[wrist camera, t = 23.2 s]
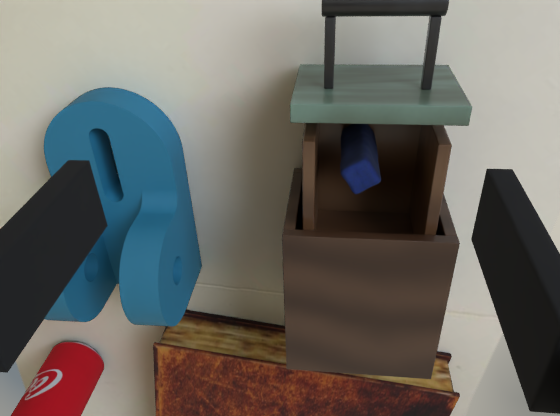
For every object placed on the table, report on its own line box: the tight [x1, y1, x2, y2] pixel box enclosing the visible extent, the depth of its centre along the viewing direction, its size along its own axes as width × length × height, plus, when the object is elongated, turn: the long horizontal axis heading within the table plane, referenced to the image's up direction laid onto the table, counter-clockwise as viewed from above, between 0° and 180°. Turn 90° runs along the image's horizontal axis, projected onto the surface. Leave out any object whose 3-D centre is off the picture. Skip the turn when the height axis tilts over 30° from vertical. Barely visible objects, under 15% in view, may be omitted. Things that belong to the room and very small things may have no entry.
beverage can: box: [11, 342, 104, 416], centre depth 53 cm, size 6×6×12 cm
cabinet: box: [282, 168, 460, 379], centre depth 40 cm, size 14×12×10 cm
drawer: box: [290, 0, 472, 235], centre depth 34 cm, size 18×10×8 cm, turn 2°
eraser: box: [340, 124, 381, 194], centre depth 34 cm, size 2×2×7 cm
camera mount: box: [44, 87, 202, 326], centre depth 40 cm, size 18×10×10 cm, turn 2°
